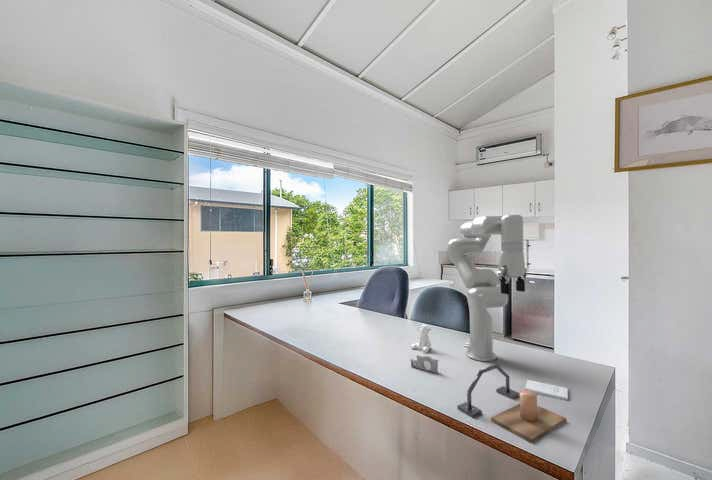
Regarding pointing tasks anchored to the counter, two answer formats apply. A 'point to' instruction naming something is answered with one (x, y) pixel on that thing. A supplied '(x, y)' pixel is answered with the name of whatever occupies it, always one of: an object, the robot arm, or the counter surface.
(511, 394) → the grey cabinet handle
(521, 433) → the walnut board
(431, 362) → the garden wall model
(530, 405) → the peach domed cylinder
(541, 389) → the external hard drive
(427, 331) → the seated beast figurine
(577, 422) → the counter surface
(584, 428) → the counter surface
